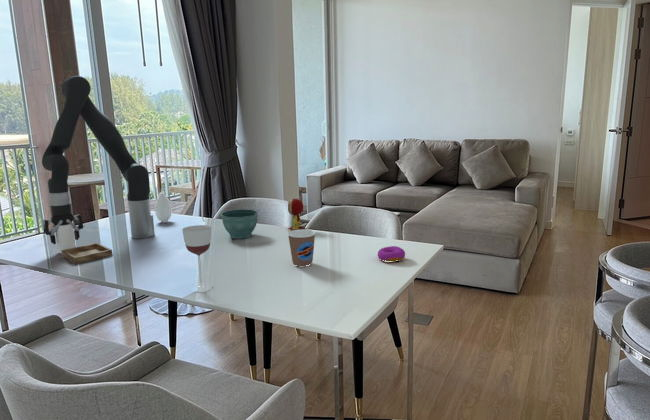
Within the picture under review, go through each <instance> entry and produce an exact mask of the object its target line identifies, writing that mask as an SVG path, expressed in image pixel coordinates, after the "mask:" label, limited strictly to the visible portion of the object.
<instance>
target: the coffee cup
mask: <svg viewBox="0 0 650 420" xmlns="http://www.w3.org/2000/svg"><path fill="white" fill-rule="evenodd" d="M306 229H307V228H306ZM306 229H300V230H293V231H290V232H289V231H287V235H288V243H289V248H290V254H291V255H290V256H291V260H292V265H293V264H294V265H297V266H306V265H309V264H311V263H312V264H313V261H314V251H315V248H314V247H315V240H316V237H315V236H316V233H317V232H316V231H315V230H313V229H307V230H306ZM294 265H293V266H294Z"/></svg>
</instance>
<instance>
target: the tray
mask: <svg viewBox="0 0 650 420" xmlns="http://www.w3.org/2000/svg"><path fill="white" fill-rule="evenodd" d="M61 255H62V257H63V258H64V259H66V260H68V261H70V263H73V264H74V265H77V264H82V263H86V262H91V261H95V260H99V259H100V260H101V259H104V258H109V257H113V256H114V255H113V249H111V248H109V247H107V246H105V245H103V244H101V243H99V242H95V243H90V244H85V245H82V246H76V247H75V248H70V249H65V250H62V254H61Z"/></svg>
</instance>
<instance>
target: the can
mask: <svg viewBox="0 0 650 420" xmlns="http://www.w3.org/2000/svg"><path fill="white" fill-rule="evenodd" d="M58 226H59V228H58V230H57V231H56V232H55V239H56V245H57V250H58V253H59V254H60V255H62V250H65V249H70V248H75V247H77V246H76V240H75V235H74V231H75V230H74V229H73V226H72V225H71V223H70V224H67V225H58Z"/></svg>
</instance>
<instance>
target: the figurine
mask: <svg viewBox="0 0 650 420" xmlns="http://www.w3.org/2000/svg"><path fill="white" fill-rule="evenodd" d="M287 210H288V213H289V214H290V215H291V216H293V218H292V224H293V226H290V227H287V229H286V231H287V230H288V231H287V232H290V231H293V230H300V229H306V230H308V229H307V228H306V227H305V226H303V225H301V216H300V214H301V213H302V212H303V211H304V204H303V202H302V200H300V199H299V198H293V199H292V198H291V199H290V200H289V201H288V203H287Z"/></svg>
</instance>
